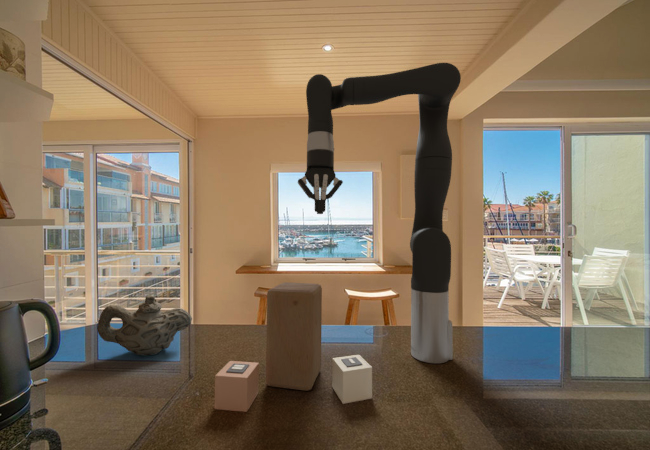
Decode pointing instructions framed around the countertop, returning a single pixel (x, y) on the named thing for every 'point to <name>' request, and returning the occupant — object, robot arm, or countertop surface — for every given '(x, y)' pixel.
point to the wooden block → (293, 335)
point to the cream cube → (351, 378)
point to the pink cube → (236, 386)
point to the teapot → (143, 326)
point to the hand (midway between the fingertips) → (319, 213)
